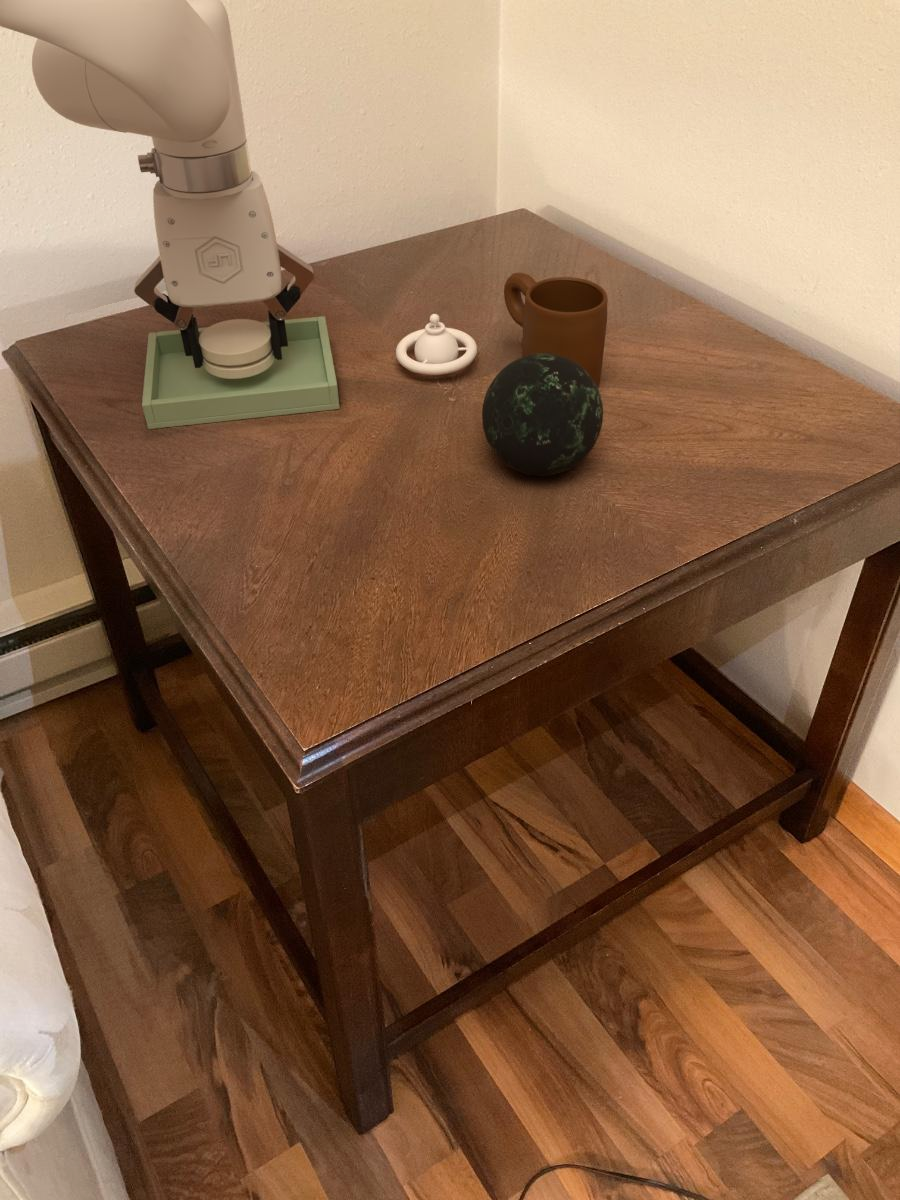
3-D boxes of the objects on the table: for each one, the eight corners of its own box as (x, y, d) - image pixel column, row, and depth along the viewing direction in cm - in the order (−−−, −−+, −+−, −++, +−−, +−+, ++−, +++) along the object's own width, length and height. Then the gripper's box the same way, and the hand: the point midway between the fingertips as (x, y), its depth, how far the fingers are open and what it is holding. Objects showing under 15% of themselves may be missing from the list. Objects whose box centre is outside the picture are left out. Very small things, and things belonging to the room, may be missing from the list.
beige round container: (204, 386, 92) (198, 357, 90) (204, 350, 97) (198, 322, 95) (277, 378, 93) (272, 350, 91) (274, 343, 98) (269, 315, 96)
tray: (148, 429, 90) (141, 405, 89) (154, 356, 100) (148, 332, 98) (339, 409, 92) (337, 384, 91) (327, 339, 102) (324, 315, 100)
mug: (475, 365, 98) (476, 274, 91) (533, 341, 101) (538, 252, 95) (557, 417, 91) (563, 323, 84) (616, 389, 94) (627, 297, 88)
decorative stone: (537, 419, 91) (543, 319, 84) (621, 465, 85) (634, 362, 78) (457, 463, 86) (456, 360, 79) (541, 515, 80) (547, 409, 74)
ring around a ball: (493, 371, 97) (449, 338, 102) (492, 318, 93) (447, 286, 98) (424, 398, 94) (382, 362, 99) (420, 344, 90) (377, 310, 95)
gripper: (93, 190, 78) (144, 386, 91) (312, 173, 81) (332, 367, 93) (101, 157, 84) (148, 346, 96) (305, 142, 86) (326, 329, 98)
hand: (238, 355), depth 94 cm, fingers closed on beige round container, 6 cm apart
